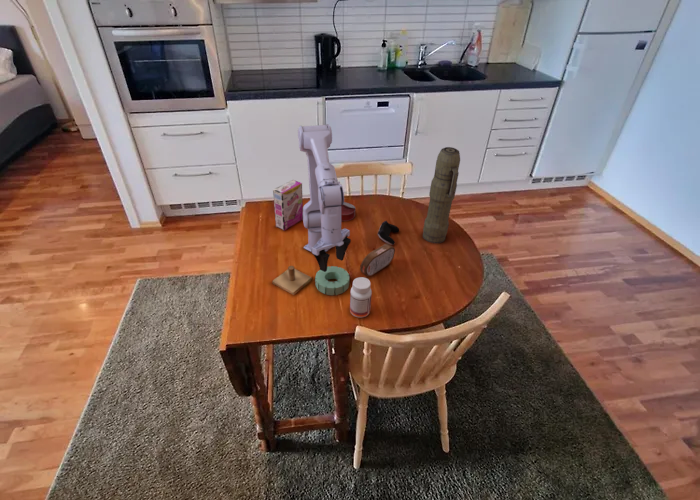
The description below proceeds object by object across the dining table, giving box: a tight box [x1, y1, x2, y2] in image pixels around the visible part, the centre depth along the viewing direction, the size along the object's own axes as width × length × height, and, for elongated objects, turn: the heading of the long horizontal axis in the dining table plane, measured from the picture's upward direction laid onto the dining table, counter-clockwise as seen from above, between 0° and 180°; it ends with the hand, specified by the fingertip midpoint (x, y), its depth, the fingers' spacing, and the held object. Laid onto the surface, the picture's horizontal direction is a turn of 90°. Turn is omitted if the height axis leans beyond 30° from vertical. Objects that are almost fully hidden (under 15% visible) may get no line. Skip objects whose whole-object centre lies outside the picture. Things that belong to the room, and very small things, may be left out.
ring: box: [314, 265, 350, 296], centre depth 127 cm, size 11×11×3 cm
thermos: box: [422, 146, 461, 244], centre depth 141 cm, size 9×12×35 cm
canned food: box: [341, 201, 356, 222], centre depth 161 cm, size 11×10×10 cm
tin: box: [359, 243, 396, 277], centre depth 132 cm, size 15×3×8 cm, turn 134°
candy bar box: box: [272, 179, 304, 231], centre depth 151 cm, size 11×5×16 cm, turn 144°
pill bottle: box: [349, 276, 373, 319], centre depth 115 cm, size 6×6×11 cm
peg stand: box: [271, 265, 313, 296], centre depth 126 cm, size 9×9×6 cm
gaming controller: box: [377, 220, 400, 246], centre depth 149 cm, size 11×4×7 cm
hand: (331, 264), depth 120 cm, fingers open, 7 cm apart
